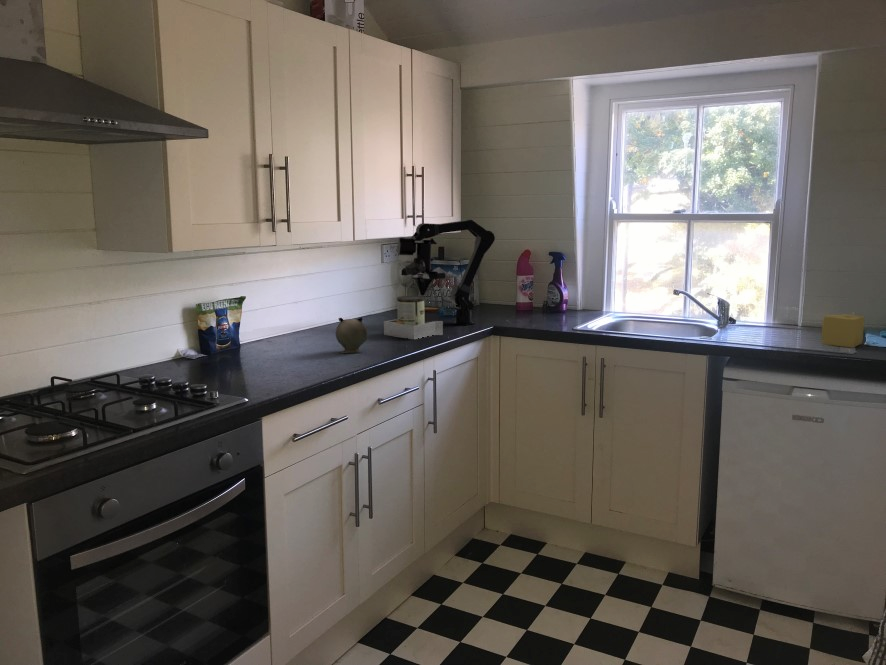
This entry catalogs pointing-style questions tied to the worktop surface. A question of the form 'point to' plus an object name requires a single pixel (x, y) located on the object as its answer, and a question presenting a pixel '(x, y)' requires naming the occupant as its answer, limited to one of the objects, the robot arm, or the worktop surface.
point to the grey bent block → (412, 329)
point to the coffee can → (410, 309)
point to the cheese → (842, 330)
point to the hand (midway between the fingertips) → (422, 295)
